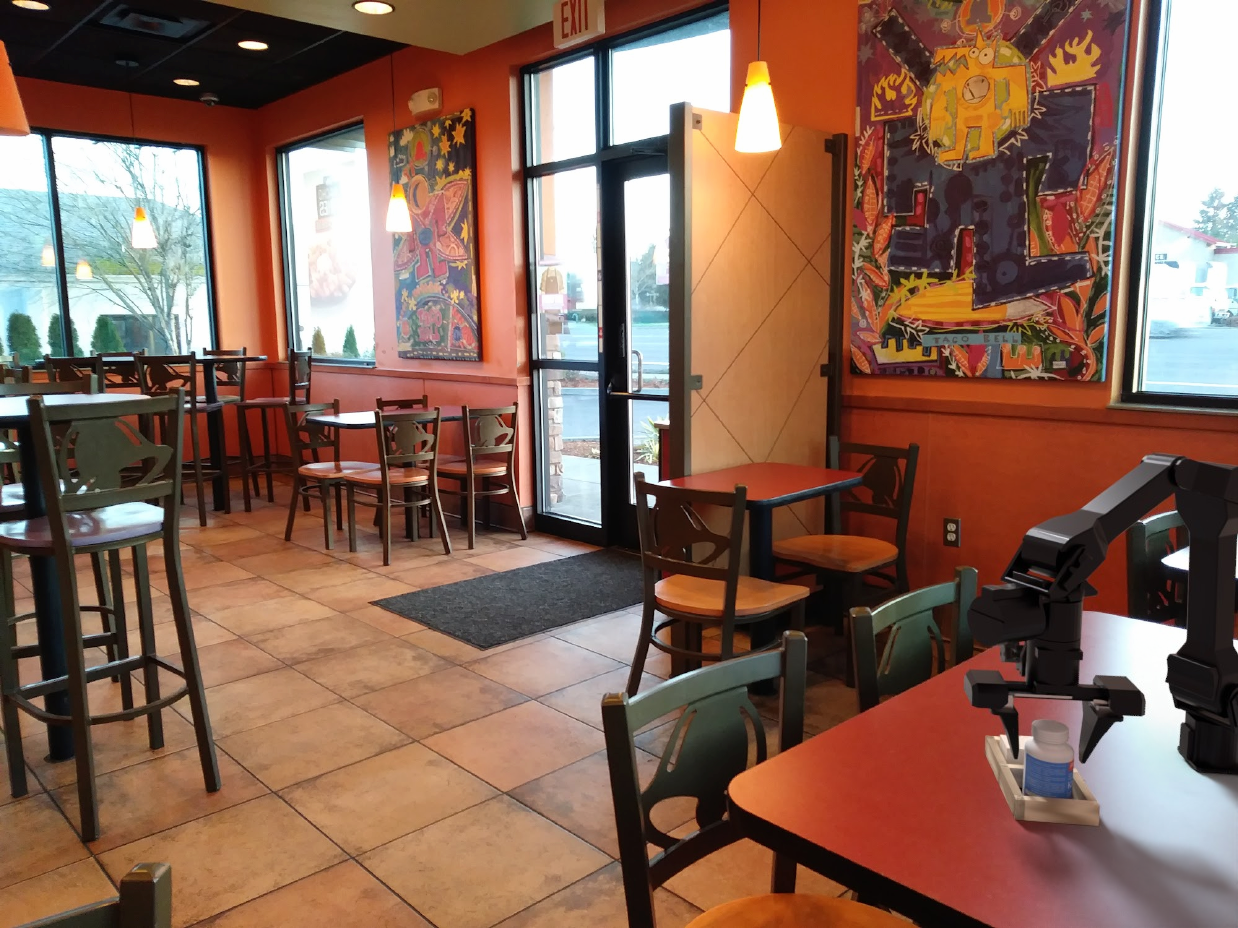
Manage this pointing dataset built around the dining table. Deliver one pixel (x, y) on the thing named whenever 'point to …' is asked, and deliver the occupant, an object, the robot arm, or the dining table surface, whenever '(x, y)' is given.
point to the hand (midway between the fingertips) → (1048, 759)
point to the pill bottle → (1048, 761)
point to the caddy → (1041, 808)
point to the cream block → (1007, 751)
